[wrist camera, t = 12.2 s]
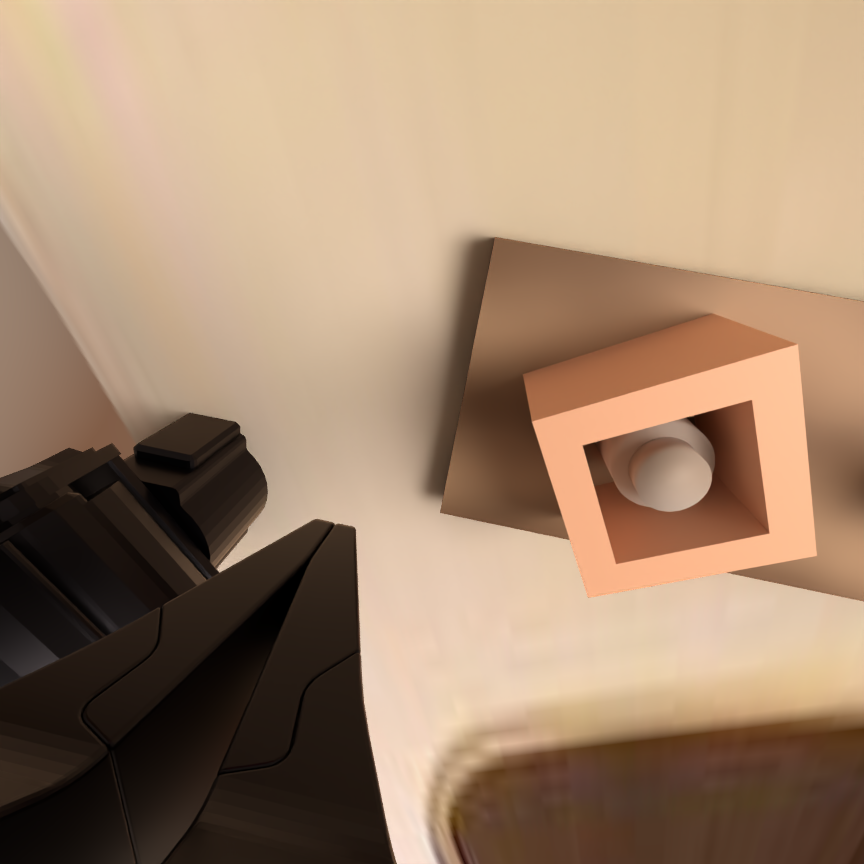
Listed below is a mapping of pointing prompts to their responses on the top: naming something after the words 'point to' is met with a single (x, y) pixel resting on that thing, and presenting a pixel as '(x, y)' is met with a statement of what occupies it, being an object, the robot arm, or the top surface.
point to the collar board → (625, 310)
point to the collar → (714, 416)
